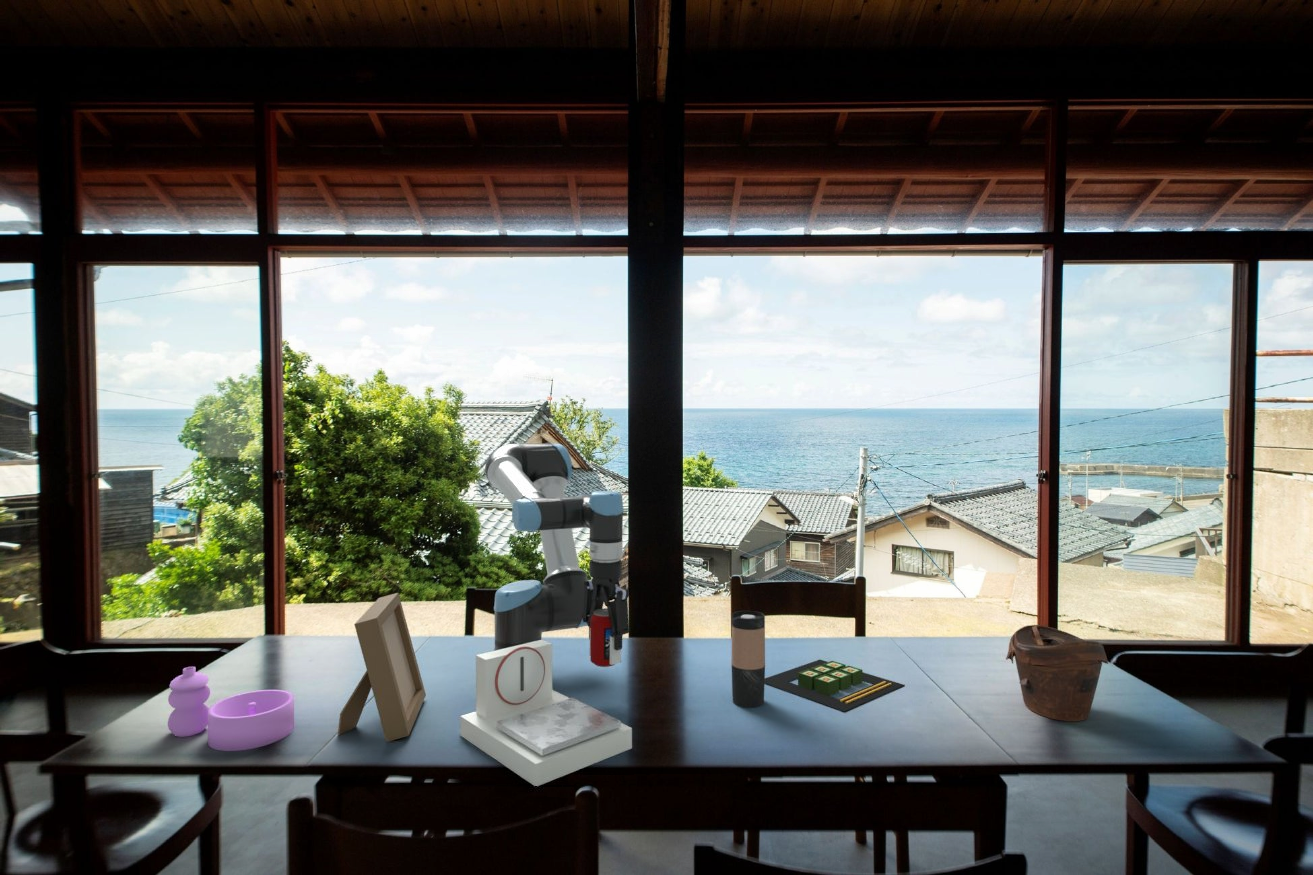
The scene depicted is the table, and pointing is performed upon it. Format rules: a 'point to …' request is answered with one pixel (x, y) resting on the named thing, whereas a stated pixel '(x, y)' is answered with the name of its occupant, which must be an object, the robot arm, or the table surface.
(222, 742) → the container set
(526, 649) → the scale
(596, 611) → the beverage can
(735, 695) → the travel mug
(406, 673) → the photo frame
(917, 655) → the table surface
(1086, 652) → the case
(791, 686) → the sushi
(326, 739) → the table surface
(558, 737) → the weighing pan
